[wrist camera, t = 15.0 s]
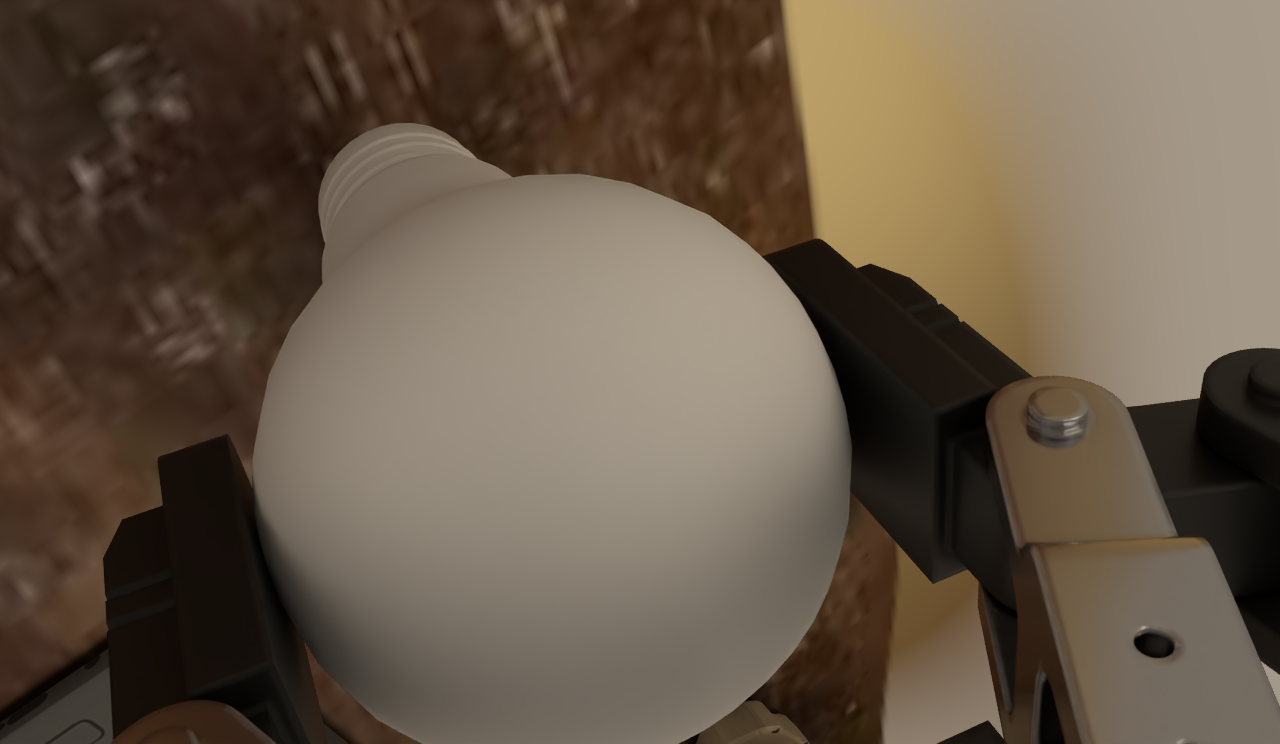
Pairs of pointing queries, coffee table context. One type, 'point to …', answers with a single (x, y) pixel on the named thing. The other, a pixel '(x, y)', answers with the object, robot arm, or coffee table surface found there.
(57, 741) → the cell phone
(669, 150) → the coffee table surface
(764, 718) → the handle
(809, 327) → the lightbulb
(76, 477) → the coffee table surface
